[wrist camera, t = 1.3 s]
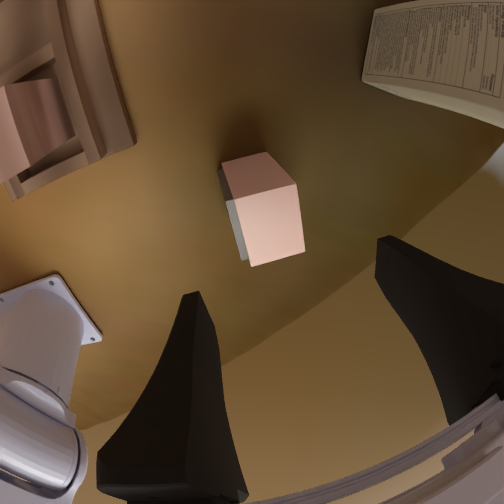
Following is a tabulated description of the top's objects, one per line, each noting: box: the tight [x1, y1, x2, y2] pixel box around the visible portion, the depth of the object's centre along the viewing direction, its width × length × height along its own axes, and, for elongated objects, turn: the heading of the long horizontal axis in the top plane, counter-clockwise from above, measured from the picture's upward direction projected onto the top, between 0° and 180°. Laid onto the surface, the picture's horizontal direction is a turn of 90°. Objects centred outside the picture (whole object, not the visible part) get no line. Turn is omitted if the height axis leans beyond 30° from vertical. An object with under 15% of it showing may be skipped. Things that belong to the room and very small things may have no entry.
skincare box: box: [362, 0, 504, 128], centre depth 11 cm, size 6×4×12 cm
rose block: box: [217, 152, 305, 267], centre depth 17 cm, size 3×4×6 cm
